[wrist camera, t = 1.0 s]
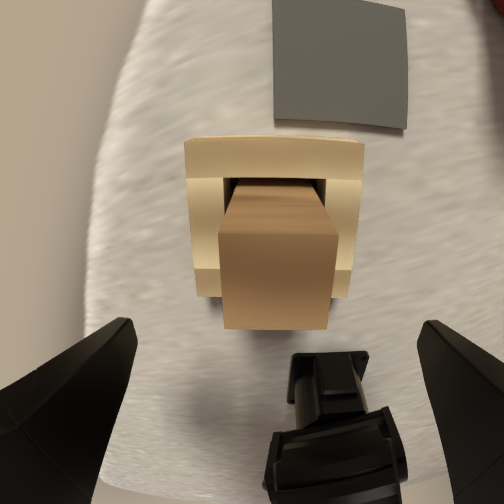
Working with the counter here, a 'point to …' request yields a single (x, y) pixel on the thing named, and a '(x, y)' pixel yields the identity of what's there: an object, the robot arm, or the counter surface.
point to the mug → (499, 6)
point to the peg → (276, 256)
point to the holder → (270, 165)
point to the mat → (340, 62)
